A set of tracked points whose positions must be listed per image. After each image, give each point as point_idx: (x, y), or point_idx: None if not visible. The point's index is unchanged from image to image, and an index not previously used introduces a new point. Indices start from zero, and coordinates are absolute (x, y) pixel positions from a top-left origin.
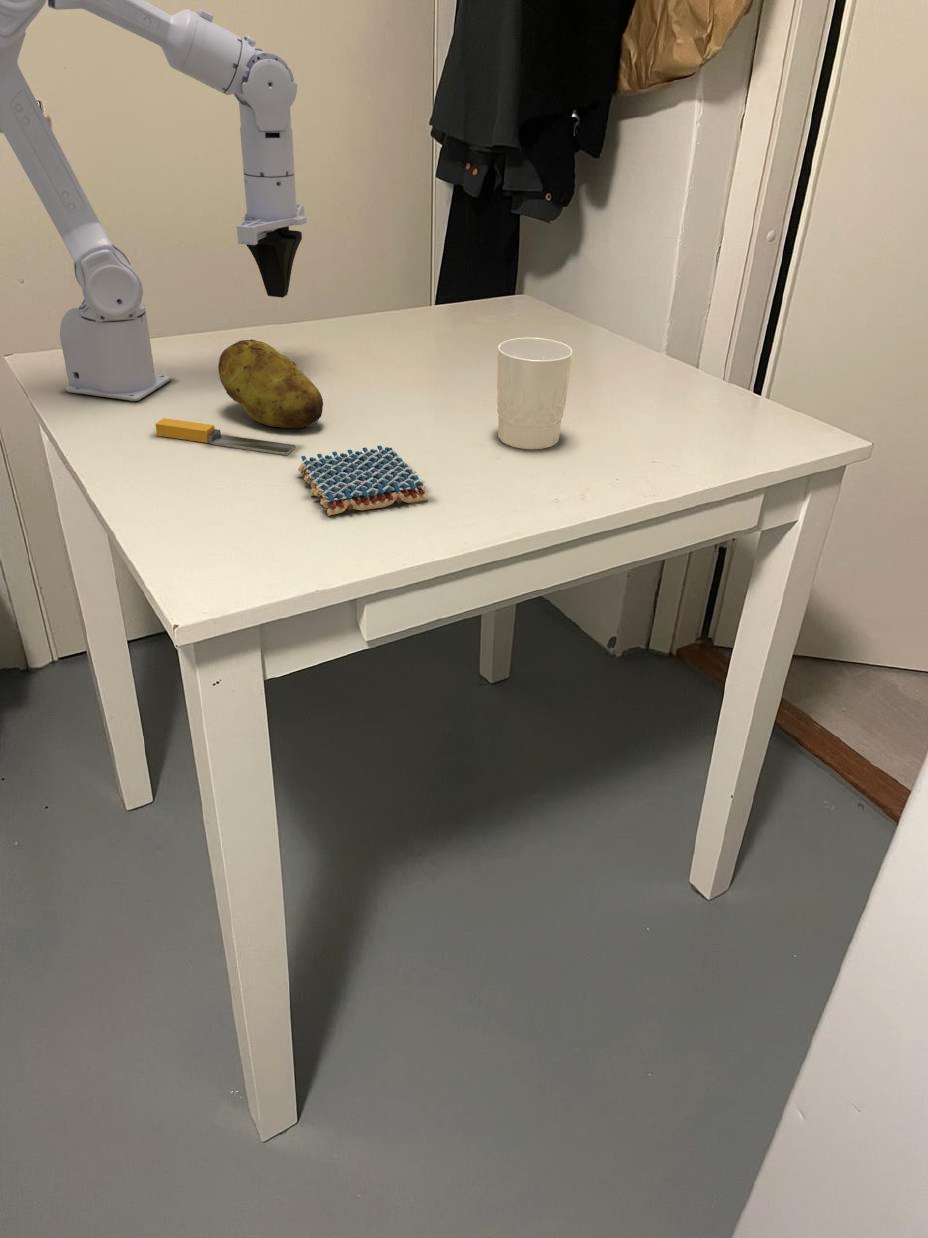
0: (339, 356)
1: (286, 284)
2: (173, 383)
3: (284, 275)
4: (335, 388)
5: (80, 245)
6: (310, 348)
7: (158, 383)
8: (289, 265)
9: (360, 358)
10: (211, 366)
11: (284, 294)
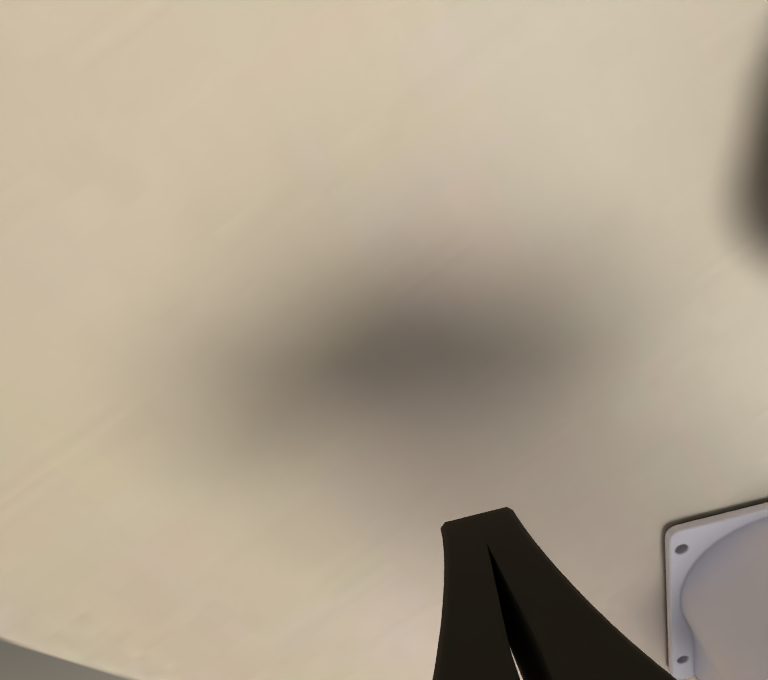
0: (112, 269)
1: (504, 555)
2: (676, 509)
3: (581, 596)
4: (476, 26)
5: None
6: (121, 417)
7: (737, 520)
8: (507, 666)
9: (60, 175)
10: None
11: (501, 515)
